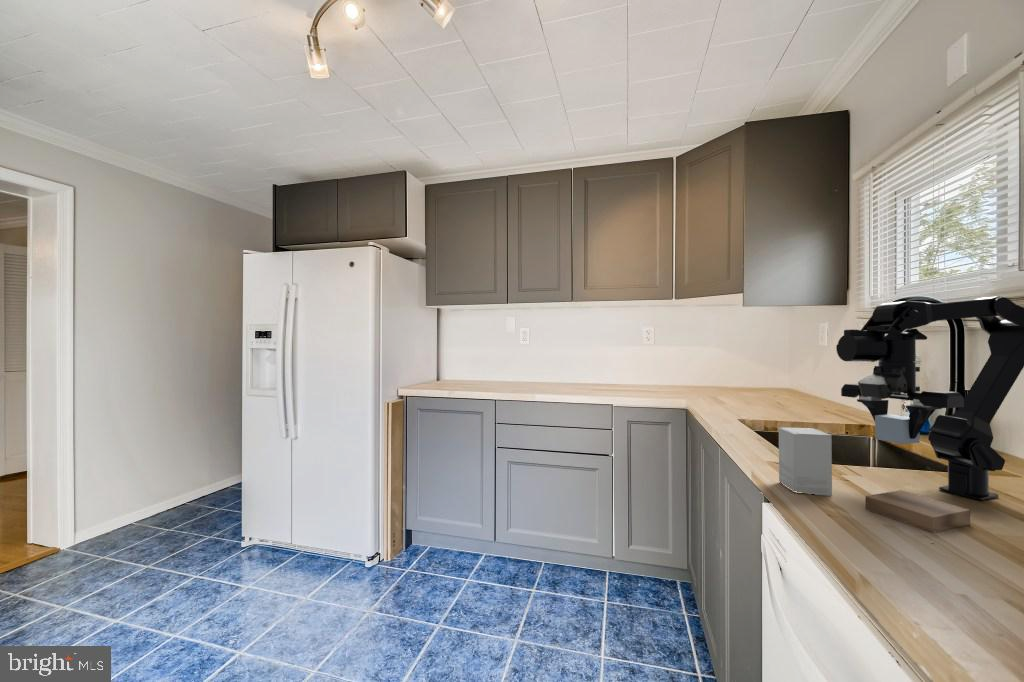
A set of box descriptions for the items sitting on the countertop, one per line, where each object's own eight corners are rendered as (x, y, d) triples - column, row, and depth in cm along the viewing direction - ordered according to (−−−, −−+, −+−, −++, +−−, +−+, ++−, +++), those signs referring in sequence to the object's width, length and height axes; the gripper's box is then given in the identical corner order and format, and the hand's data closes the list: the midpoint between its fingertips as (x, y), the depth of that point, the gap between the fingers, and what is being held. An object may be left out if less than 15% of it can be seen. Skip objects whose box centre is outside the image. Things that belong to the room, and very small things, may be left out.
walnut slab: (900, 502, 81) (900, 490, 81) (970, 524, 71) (970, 509, 71) (865, 509, 78) (865, 495, 78) (932, 532, 68) (932, 517, 68)
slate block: (890, 437, 90) (890, 414, 90) (919, 442, 85) (919, 418, 85) (875, 438, 88) (874, 415, 88) (903, 444, 83) (903, 419, 83)
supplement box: (833, 496, 84) (833, 435, 84) (793, 493, 86) (792, 433, 86) (814, 484, 92) (814, 427, 92) (777, 482, 93) (777, 426, 93)
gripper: (823, 360, 93) (823, 429, 93) (927, 364, 75) (927, 449, 75) (858, 359, 96) (858, 426, 96) (965, 363, 78) (966, 445, 78)
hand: (896, 435), depth 86 cm, fingers closed on slate block, 5 cm apart
